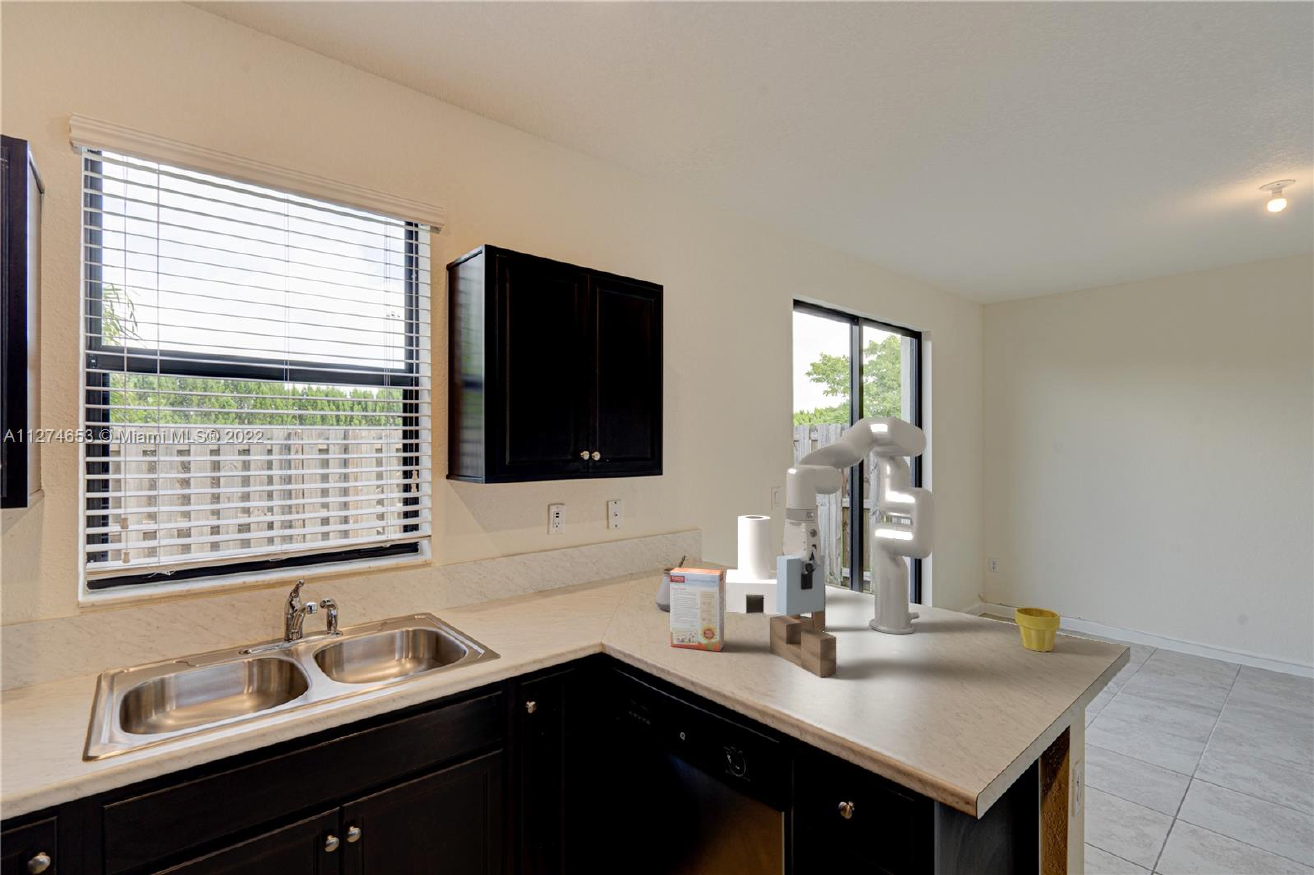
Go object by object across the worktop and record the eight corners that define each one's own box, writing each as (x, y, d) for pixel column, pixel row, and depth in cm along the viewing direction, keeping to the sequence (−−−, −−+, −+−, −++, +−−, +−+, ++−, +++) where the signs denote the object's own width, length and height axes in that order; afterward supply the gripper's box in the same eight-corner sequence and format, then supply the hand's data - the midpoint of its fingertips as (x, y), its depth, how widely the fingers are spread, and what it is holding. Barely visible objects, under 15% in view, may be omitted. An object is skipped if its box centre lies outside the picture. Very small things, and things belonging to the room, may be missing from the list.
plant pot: (1012, 649, 166) (1012, 613, 166) (1017, 639, 174) (1017, 604, 174) (1058, 657, 159) (1058, 620, 159) (1061, 646, 168) (1061, 611, 168)
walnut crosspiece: (784, 648, 167) (784, 615, 167) (836, 674, 149) (836, 637, 149) (769, 651, 165) (769, 617, 165) (820, 677, 147) (820, 640, 147)
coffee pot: (683, 614, 198) (683, 568, 198) (649, 611, 202) (649, 565, 202) (701, 598, 218) (701, 555, 218) (670, 595, 222) (670, 553, 222)
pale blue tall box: (813, 606, 161) (814, 553, 161) (824, 610, 157) (824, 555, 157) (776, 611, 156) (776, 556, 156) (786, 616, 152) (786, 559, 152)
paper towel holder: (727, 597, 219) (727, 513, 219) (780, 599, 216) (780, 514, 216) (725, 612, 200) (725, 520, 200) (784, 615, 198) (784, 521, 197)
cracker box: (724, 645, 169) (724, 569, 169) (719, 652, 164) (719, 574, 163) (676, 639, 174) (676, 566, 174) (669, 646, 168) (669, 570, 168)
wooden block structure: (825, 632, 180) (825, 570, 180) (788, 631, 181) (788, 570, 181) (823, 628, 184) (823, 568, 184) (786, 627, 185) (786, 567, 185)
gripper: (835, 518, 151) (834, 593, 151) (792, 511, 166) (791, 578, 166) (811, 520, 147) (810, 596, 147) (769, 512, 162) (768, 581, 162)
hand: (800, 586), depth 156 cm, fingers closed on pale blue tall box, 4 cm apart
